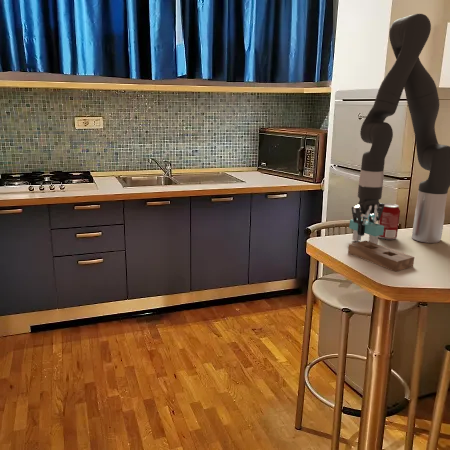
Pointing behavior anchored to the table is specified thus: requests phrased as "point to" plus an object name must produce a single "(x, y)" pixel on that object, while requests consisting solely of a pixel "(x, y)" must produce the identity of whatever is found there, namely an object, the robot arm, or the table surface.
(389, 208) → the soda can
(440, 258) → the table surface
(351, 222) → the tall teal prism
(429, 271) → the table surface
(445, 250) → the table surface
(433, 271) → the table surface
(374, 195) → the robot arm
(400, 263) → the board
